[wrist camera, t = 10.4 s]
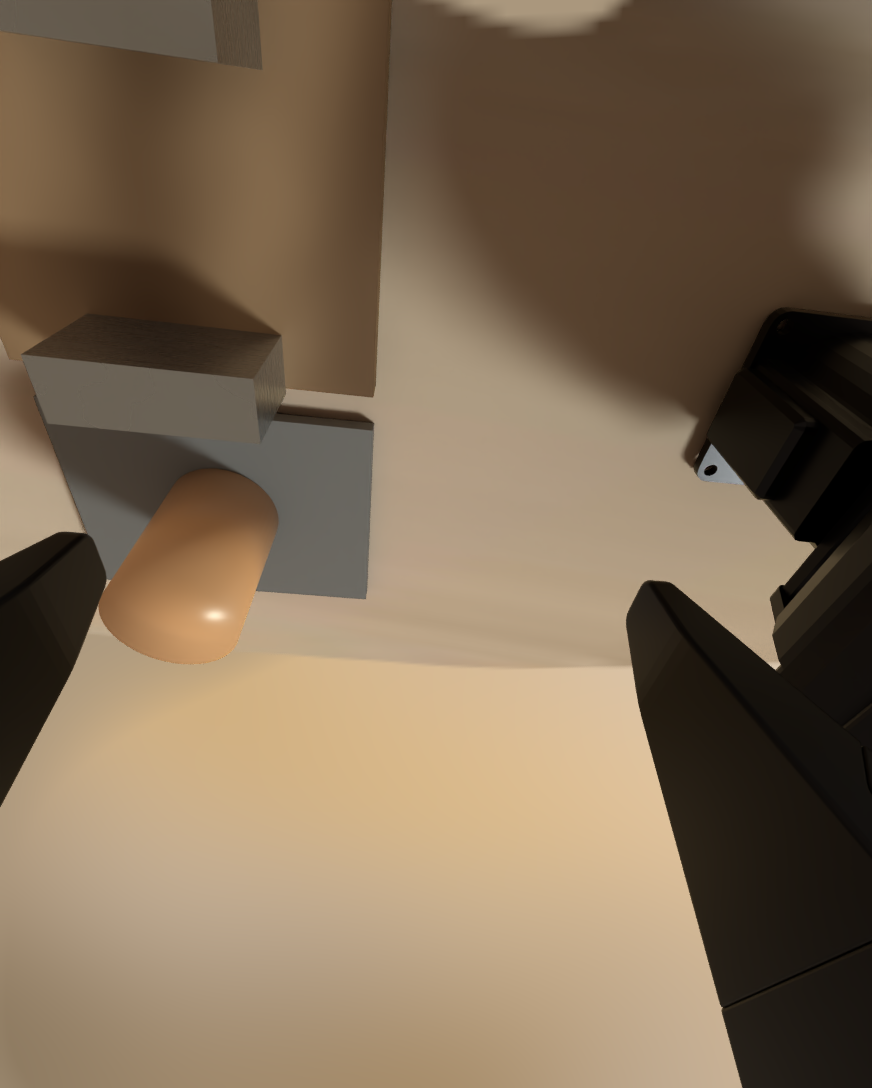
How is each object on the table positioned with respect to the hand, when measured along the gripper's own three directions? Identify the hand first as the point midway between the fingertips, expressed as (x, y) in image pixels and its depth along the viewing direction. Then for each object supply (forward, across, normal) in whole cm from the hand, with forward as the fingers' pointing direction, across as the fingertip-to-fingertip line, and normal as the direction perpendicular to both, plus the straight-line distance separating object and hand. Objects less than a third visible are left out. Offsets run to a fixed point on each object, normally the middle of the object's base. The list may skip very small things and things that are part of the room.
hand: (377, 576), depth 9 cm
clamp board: (+12, +7, -3) cm, 14 cm away
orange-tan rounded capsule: (+11, +7, +8) cm, 16 cm away
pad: (+12, +7, +8) cm, 16 cm away
